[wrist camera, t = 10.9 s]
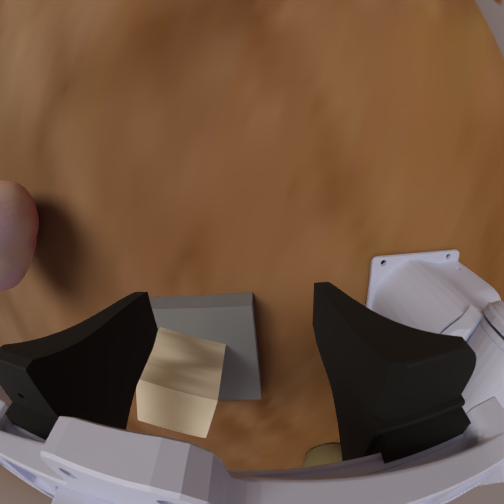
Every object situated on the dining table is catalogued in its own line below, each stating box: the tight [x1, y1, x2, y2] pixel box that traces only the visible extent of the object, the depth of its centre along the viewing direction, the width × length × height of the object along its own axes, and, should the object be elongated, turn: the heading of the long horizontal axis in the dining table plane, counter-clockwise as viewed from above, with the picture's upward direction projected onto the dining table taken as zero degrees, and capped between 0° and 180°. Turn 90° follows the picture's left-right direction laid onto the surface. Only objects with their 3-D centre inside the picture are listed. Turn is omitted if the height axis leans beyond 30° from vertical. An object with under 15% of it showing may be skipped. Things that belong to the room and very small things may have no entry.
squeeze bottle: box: [303, 443, 342, 467], centre depth 23 cm, size 8×8×18 cm
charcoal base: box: [149, 292, 261, 400], centre depth 23 cm, size 11×11×2 cm
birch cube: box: [136, 327, 226, 438], centre depth 19 cm, size 6×6×6 cm
